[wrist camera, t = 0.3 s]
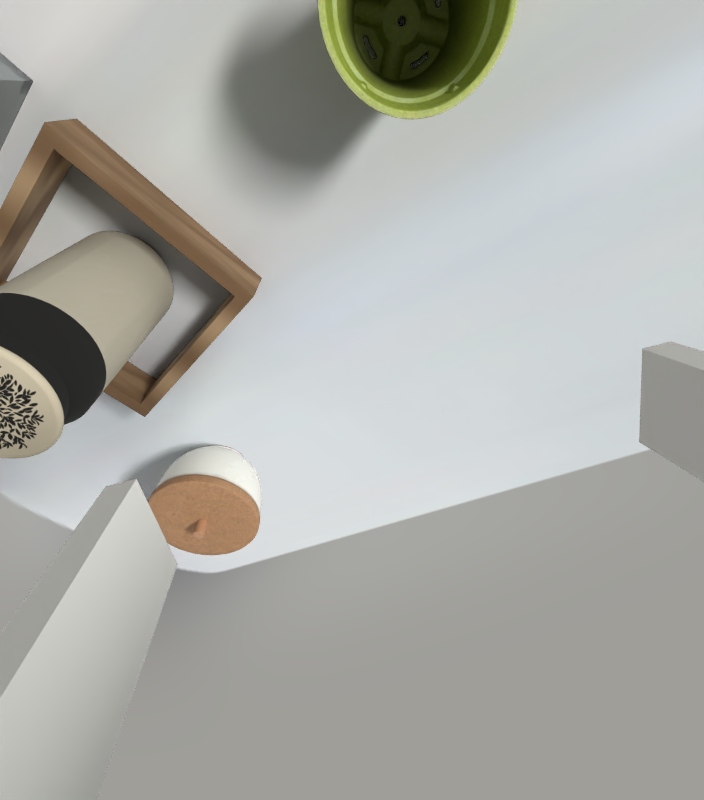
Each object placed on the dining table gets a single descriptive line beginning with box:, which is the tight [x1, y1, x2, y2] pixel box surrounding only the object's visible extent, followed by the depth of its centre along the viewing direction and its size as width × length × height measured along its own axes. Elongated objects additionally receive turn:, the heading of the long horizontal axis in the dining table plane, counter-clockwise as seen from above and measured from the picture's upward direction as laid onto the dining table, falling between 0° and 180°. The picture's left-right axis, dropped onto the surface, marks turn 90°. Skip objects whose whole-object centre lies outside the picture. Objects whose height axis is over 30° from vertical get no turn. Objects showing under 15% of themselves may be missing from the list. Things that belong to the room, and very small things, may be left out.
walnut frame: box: [0, 119, 262, 417], centre depth 35 cm, size 16×16×4 cm
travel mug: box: [0, 231, 173, 458], centre depth 30 cm, size 8×8×18 cm
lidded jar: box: [148, 445, 262, 555], centre depth 45 cm, size 11×11×9 cm
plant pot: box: [317, 0, 518, 119], centre depth 24 cm, size 9×9×9 cm
